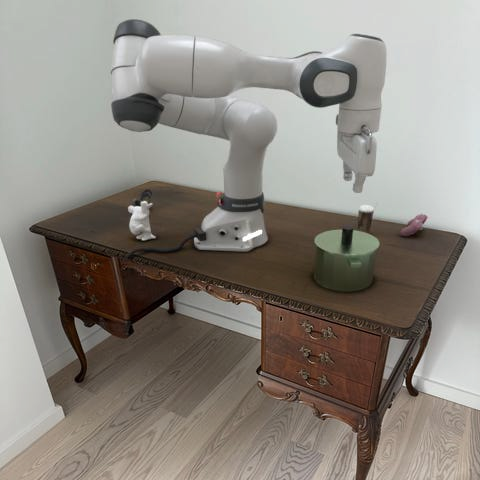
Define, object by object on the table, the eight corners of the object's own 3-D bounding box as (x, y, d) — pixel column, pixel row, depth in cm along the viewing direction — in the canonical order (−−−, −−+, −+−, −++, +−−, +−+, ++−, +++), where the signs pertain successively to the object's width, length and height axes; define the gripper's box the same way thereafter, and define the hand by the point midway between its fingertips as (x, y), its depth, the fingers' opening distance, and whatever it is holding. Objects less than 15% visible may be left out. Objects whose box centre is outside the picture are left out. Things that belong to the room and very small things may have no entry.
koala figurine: (162, 236, 146) (157, 199, 140) (149, 244, 141) (144, 205, 135) (140, 232, 150) (134, 195, 143) (127, 240, 144) (120, 202, 138)
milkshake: (373, 238, 141) (378, 205, 135) (355, 237, 142) (359, 205, 136) (373, 232, 144) (377, 200, 139) (355, 231, 145) (359, 200, 140)
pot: (321, 298, 111) (324, 262, 106) (308, 262, 128) (310, 229, 122) (382, 296, 111) (388, 259, 106) (361, 260, 128) (365, 227, 123)
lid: (320, 260, 108) (321, 241, 105) (309, 235, 121) (310, 217, 118) (387, 257, 108) (390, 238, 106) (369, 232, 121) (371, 215, 119)
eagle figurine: (157, 209, 165) (157, 196, 172) (143, 194, 161) (144, 182, 167) (140, 220, 168) (141, 208, 174) (127, 206, 163) (128, 194, 170)
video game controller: (410, 243, 140) (424, 225, 136) (397, 234, 141) (411, 216, 136) (418, 232, 147) (432, 215, 143) (406, 224, 148) (420, 206, 143)
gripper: (387, 130, 92) (378, 199, 99) (361, 114, 109) (355, 173, 116) (356, 131, 92) (349, 200, 99) (334, 115, 109) (329, 174, 116)
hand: (352, 185), depth 108 cm, fingers open, 8 cm apart
